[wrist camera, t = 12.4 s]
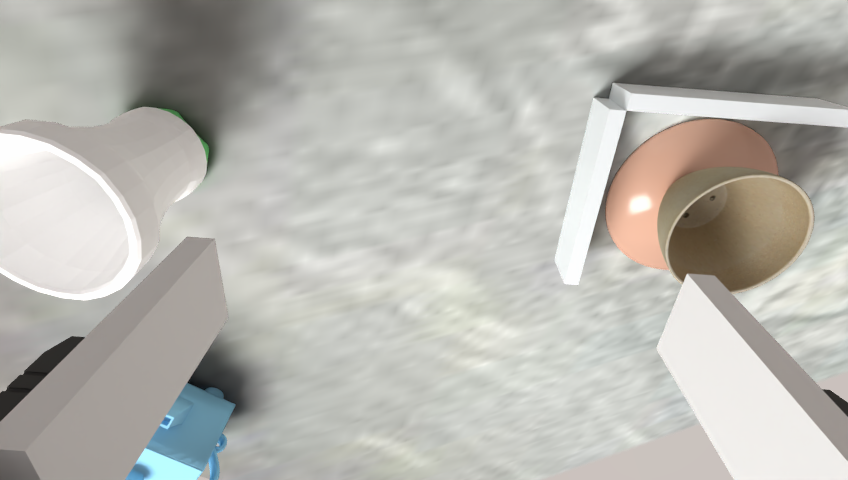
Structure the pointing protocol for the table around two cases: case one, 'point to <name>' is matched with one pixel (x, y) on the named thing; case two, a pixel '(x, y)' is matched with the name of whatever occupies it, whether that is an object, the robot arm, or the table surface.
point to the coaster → (674, 177)
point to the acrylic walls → (664, 100)
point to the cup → (91, 198)
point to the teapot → (187, 438)
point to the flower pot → (733, 226)
